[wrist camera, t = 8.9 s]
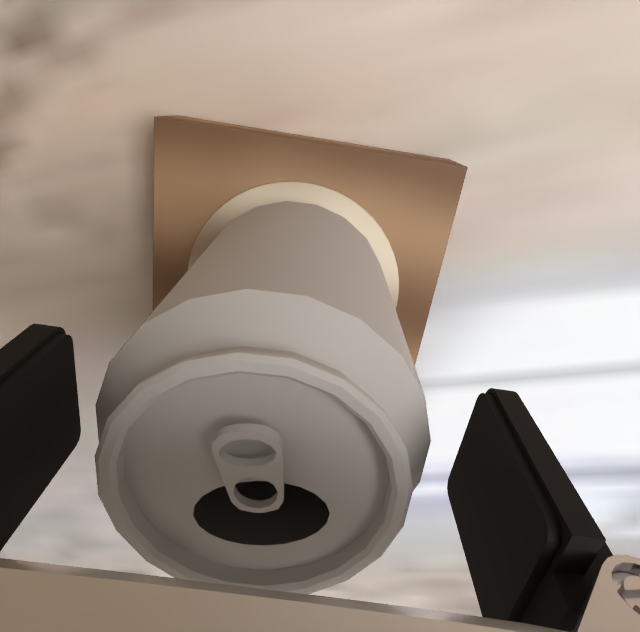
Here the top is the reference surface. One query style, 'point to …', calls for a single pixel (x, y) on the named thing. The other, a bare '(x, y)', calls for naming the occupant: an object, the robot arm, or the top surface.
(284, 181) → the base
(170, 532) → the can
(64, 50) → the top surface
